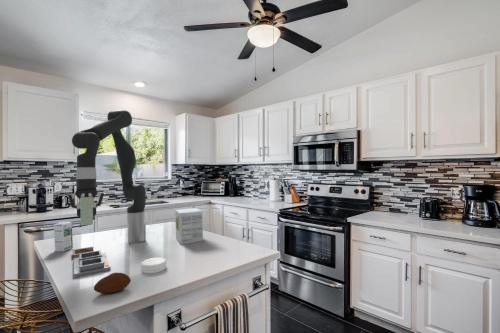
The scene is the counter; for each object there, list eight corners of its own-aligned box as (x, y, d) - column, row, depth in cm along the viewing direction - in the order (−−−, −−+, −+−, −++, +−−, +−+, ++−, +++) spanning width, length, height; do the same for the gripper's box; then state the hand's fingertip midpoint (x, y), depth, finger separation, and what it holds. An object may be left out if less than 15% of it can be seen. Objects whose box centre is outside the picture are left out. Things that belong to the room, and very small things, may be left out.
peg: (92, 222, 121) (92, 196, 122) (93, 224, 118) (92, 196, 118) (80, 223, 119) (80, 196, 119) (80, 225, 115) (80, 197, 115)
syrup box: (63, 251, 140) (63, 223, 140) (54, 251, 141) (53, 223, 141) (73, 248, 145) (72, 221, 145) (63, 247, 147) (63, 221, 146)
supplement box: (175, 239, 160) (174, 209, 160) (197, 235, 166) (196, 207, 166) (180, 244, 148) (179, 213, 148) (203, 241, 154) (202, 210, 154)
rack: (105, 255, 132) (105, 248, 132) (110, 270, 113) (110, 262, 113) (73, 261, 125) (73, 254, 125) (73, 277, 106) (73, 269, 106)
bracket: (93, 250, 141) (93, 246, 141) (94, 255, 133) (94, 251, 133) (72, 253, 136) (72, 249, 136) (72, 259, 128) (72, 255, 128)
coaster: (160, 263, 121) (160, 255, 121) (170, 269, 114) (169, 261, 114) (137, 269, 115) (137, 260, 115) (146, 276, 107) (146, 267, 107)
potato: (93, 292, 94) (92, 274, 94) (129, 284, 100) (128, 266, 100) (94, 299, 88) (94, 280, 88) (132, 290, 95) (131, 272, 95)
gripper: (104, 177, 125) (104, 213, 125) (67, 178, 118) (67, 217, 118) (105, 177, 119) (105, 216, 119) (66, 178, 111) (66, 219, 111)
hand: (86, 216), depth 118 cm, fingers closed on peg, 4 cm apart
